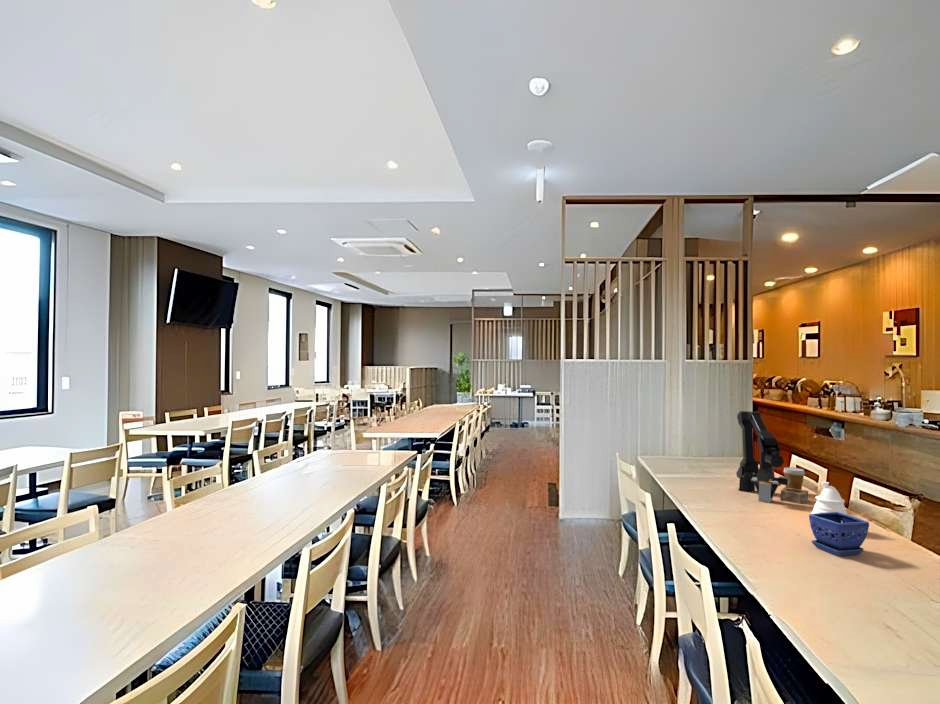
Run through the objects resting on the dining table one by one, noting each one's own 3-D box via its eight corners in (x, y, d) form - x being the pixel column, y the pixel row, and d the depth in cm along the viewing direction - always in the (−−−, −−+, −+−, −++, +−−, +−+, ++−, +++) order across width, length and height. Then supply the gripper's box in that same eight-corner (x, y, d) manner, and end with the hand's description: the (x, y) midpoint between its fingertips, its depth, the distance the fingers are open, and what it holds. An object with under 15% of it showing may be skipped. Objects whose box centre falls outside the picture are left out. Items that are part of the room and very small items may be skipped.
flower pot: (838, 559, 200) (839, 523, 200) (806, 546, 213) (807, 512, 213) (869, 556, 204) (870, 521, 204) (836, 543, 217) (837, 511, 217)
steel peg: (758, 501, 277) (759, 481, 277) (760, 499, 281) (761, 480, 281) (770, 503, 274) (770, 483, 274) (772, 501, 278) (773, 481, 278)
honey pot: (811, 529, 234) (812, 483, 234) (810, 521, 245) (811, 477, 245) (850, 535, 228) (851, 488, 228) (846, 526, 239) (848, 481, 239)
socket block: (780, 500, 280) (780, 490, 280) (784, 496, 288) (784, 487, 288) (804, 504, 274) (804, 494, 274) (808, 500, 282) (808, 490, 282)
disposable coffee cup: (804, 493, 297) (805, 468, 297) (803, 496, 289) (804, 471, 289) (783, 490, 302) (784, 466, 302) (781, 493, 294) (782, 469, 294)
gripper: (740, 462, 277) (739, 496, 277) (785, 468, 265) (784, 503, 265) (746, 459, 285) (745, 492, 286) (790, 465, 274) (789, 499, 274)
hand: (765, 496), depth 277 cm, fingers closed on steel peg, 5 cm apart
